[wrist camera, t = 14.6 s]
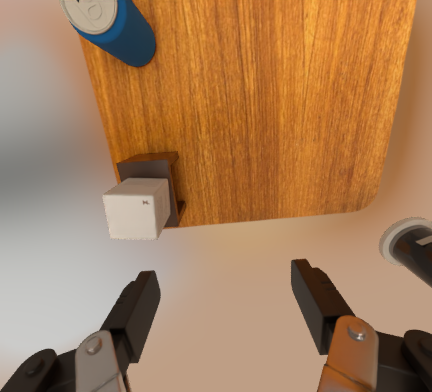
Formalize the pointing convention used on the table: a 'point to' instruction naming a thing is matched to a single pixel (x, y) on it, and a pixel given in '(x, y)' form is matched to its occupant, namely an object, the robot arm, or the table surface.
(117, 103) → the table surface
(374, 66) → the table surface
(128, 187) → the product box
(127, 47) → the beverage can
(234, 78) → the table surface
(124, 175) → the shelf
